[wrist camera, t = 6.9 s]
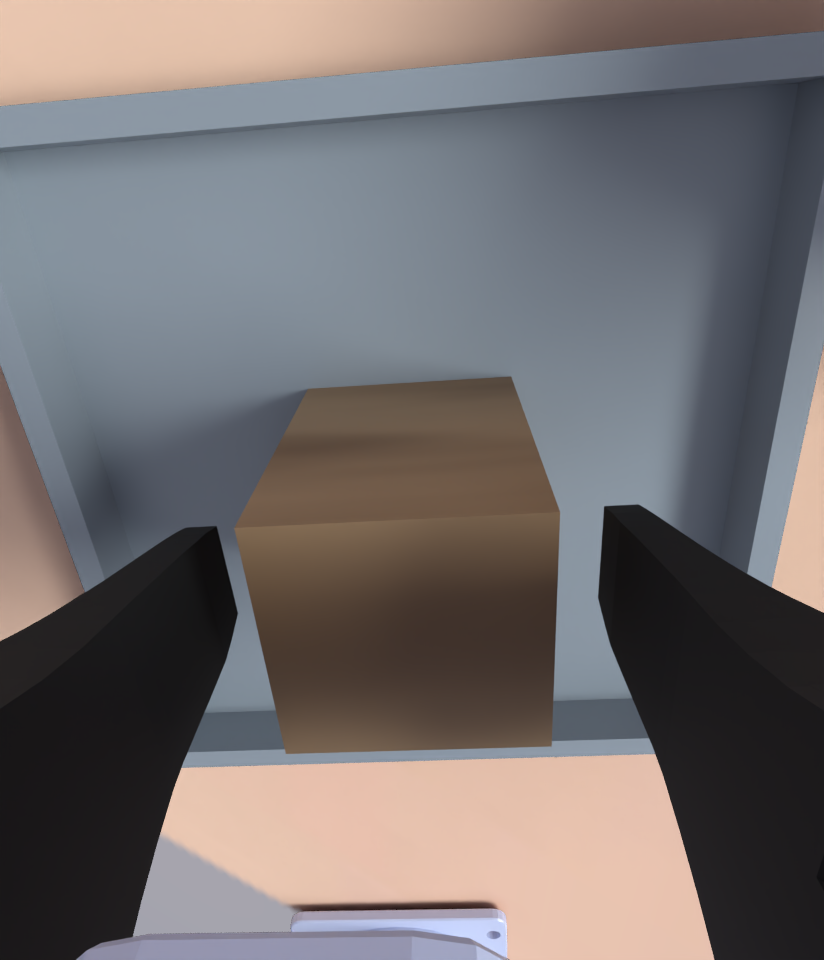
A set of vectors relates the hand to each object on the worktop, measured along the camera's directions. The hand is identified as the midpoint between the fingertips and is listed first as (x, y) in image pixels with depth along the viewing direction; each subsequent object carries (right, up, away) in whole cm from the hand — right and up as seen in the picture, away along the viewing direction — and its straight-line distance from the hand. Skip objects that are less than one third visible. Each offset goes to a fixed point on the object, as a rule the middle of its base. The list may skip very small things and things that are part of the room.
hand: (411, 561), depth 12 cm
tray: (0, +2, +4) cm, 4 cm away
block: (0, +2, +3) cm, 4 cm away
